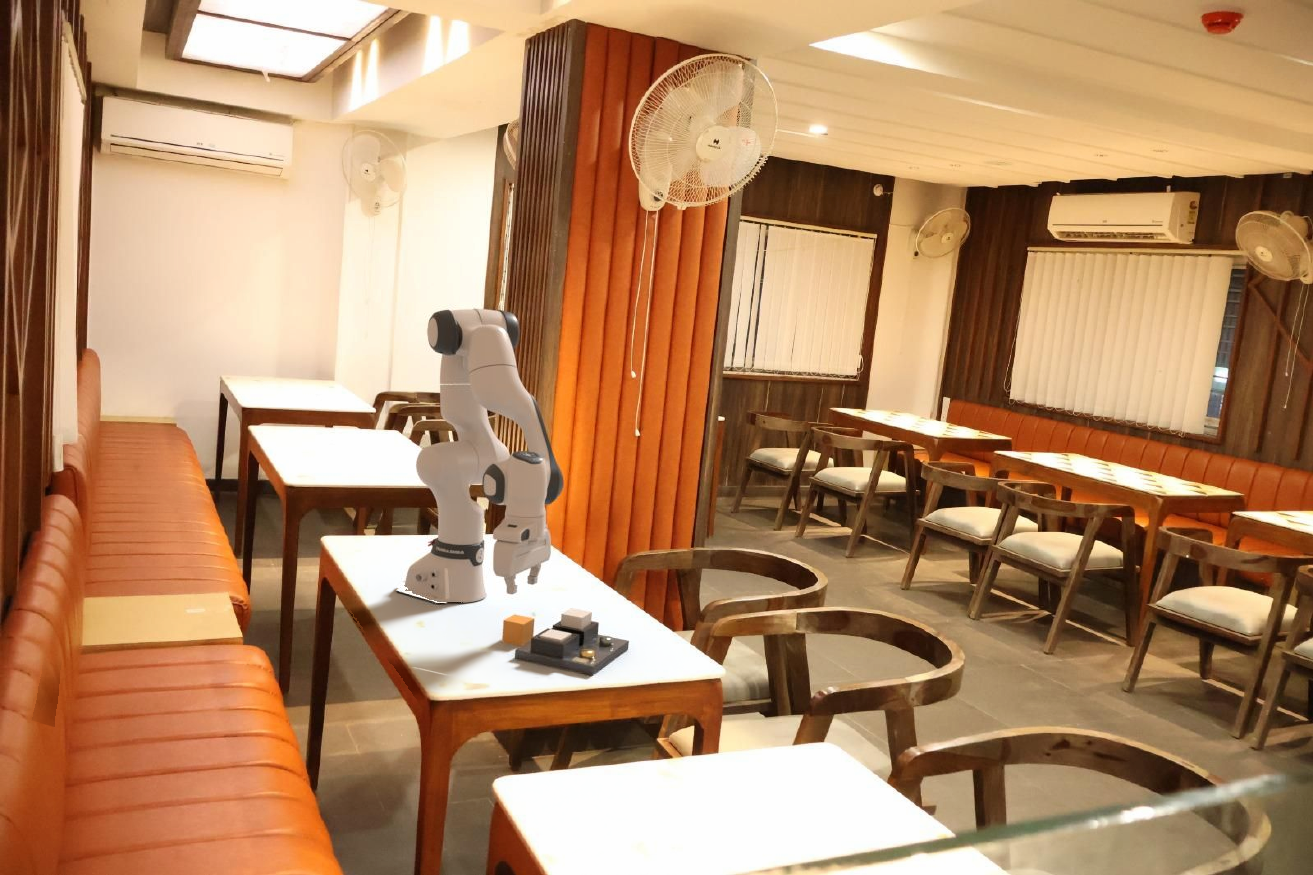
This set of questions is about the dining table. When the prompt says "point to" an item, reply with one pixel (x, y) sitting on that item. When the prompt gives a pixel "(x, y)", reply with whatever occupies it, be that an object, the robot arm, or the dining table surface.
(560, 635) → the block
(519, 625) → the block
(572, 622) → the block
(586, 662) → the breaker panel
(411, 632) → the dining table surface
